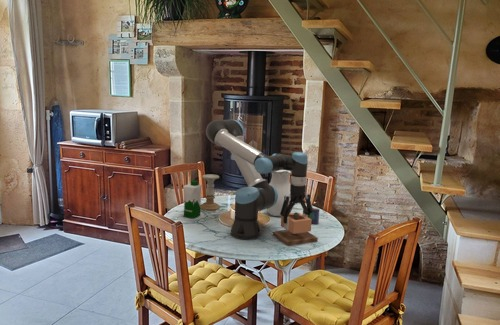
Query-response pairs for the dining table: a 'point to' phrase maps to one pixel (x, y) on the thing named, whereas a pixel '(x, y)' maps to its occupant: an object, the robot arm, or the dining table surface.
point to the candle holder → (210, 194)
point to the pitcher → (280, 190)
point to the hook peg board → (294, 236)
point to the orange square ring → (298, 223)
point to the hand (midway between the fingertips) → (295, 228)
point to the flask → (314, 215)
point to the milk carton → (192, 200)
